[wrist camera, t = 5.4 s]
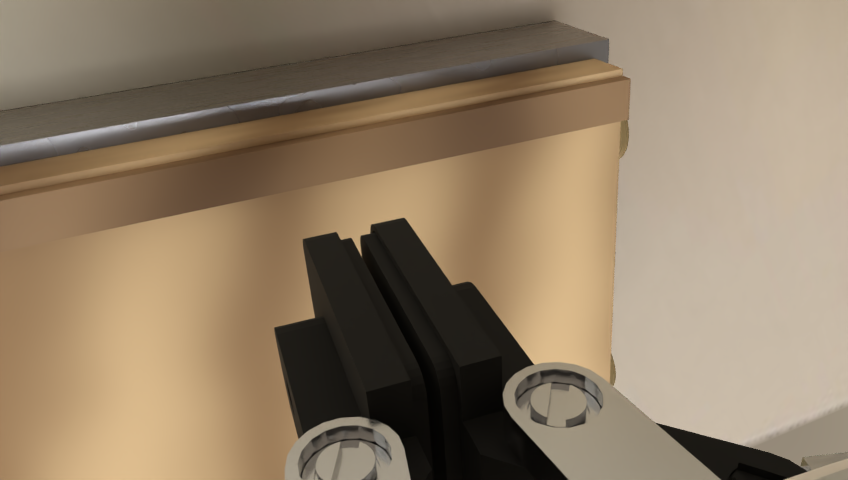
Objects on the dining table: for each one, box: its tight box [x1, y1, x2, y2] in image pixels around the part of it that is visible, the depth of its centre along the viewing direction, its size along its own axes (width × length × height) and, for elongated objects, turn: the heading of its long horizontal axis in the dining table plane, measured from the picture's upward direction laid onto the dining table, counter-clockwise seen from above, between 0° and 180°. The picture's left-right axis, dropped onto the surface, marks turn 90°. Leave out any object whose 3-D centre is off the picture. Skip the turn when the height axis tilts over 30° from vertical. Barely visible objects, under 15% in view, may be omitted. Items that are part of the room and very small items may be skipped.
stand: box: [0, 21, 629, 386], centre depth 25 cm, size 24×17×3 cm
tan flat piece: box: [0, 59, 630, 480], centre depth 22 cm, size 22×16×4 cm
